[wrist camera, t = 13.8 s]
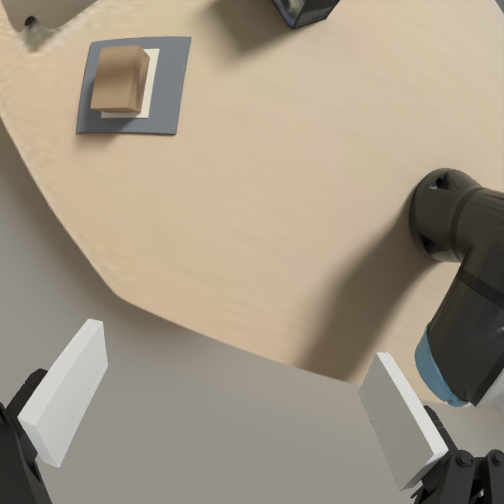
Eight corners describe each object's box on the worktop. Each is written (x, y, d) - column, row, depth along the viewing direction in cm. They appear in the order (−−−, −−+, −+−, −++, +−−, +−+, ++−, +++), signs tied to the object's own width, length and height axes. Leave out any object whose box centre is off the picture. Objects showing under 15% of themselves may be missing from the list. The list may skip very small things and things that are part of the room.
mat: (191, 38, 32) (190, 36, 32) (176, 133, 37) (175, 133, 36) (92, 43, 31) (90, 41, 30) (77, 132, 35) (75, 132, 35)
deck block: (141, 112, 35) (127, 107, 30) (107, 112, 34) (90, 108, 29) (150, 57, 32) (138, 45, 27) (116, 58, 32) (101, 48, 27)
